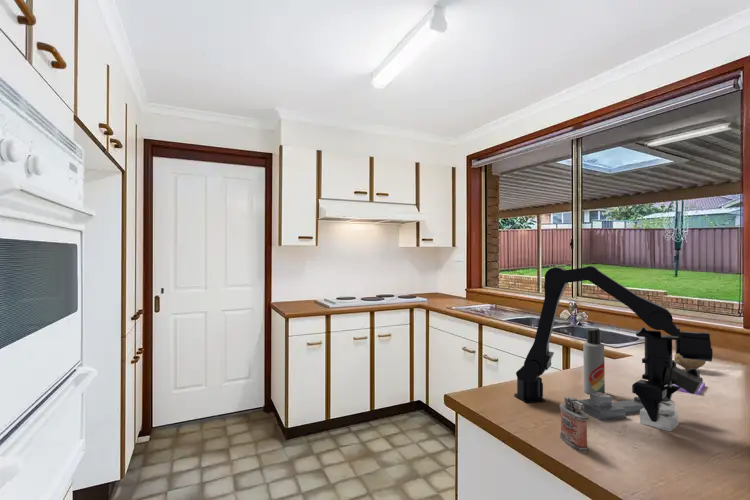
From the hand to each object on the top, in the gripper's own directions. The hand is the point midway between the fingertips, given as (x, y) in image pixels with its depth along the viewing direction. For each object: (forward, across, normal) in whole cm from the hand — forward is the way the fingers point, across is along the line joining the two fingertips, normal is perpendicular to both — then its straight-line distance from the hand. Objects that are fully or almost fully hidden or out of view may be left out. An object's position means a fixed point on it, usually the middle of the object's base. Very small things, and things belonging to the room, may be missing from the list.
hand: (658, 417), depth 98 cm
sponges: (+2, +41, +3) cm, 41 cm away
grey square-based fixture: (+2, 0, 0) cm, 2 cm away
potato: (+2, +66, +8) cm, 67 cm away
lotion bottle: (+2, +12, +20) cm, 23 cm away
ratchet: (+2, +3, +8) cm, 9 cm away
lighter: (+2, -28, +9) cm, 29 cm away
